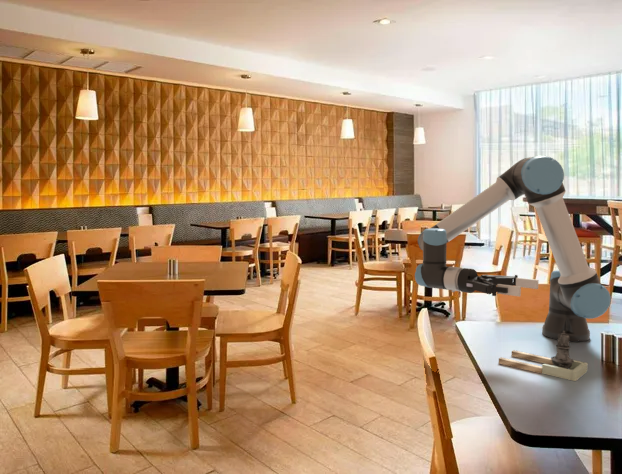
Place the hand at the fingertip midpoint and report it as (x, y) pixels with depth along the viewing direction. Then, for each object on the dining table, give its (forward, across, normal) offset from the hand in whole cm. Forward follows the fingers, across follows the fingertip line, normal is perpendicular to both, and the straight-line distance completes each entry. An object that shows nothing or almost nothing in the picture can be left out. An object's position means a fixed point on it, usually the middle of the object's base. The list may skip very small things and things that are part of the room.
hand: (529, 287), depth 159 cm
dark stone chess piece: (+10, 0, -23) cm, 25 cm away
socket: (+10, 0, -23) cm, 25 cm away
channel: (0, 0, -23) cm, 23 cm away
